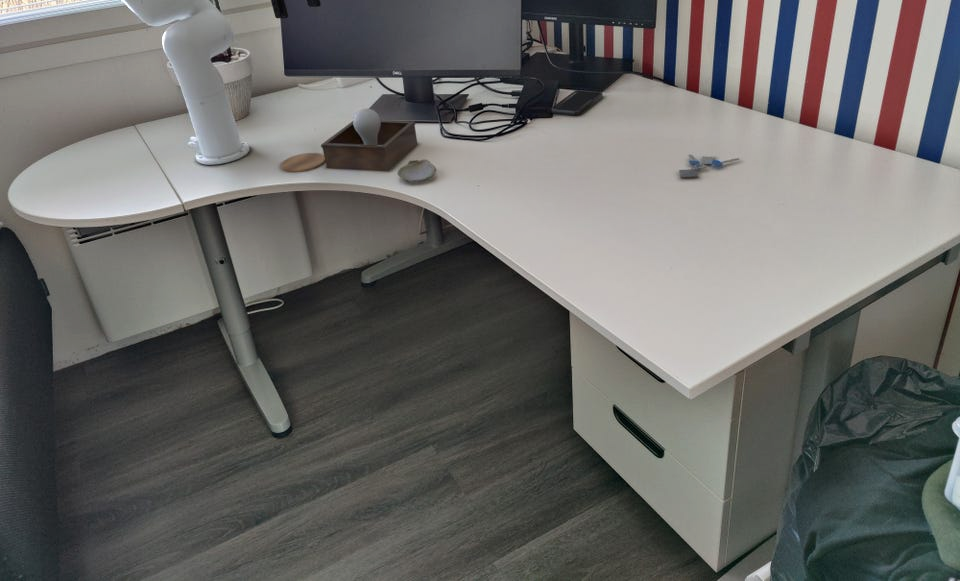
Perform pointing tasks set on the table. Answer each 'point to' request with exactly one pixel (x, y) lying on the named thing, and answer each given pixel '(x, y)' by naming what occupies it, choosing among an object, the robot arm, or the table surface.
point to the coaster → (303, 162)
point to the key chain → (705, 160)
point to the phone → (577, 103)
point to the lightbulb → (367, 125)
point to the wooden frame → (370, 147)
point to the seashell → (417, 170)
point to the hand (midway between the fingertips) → (298, 12)
